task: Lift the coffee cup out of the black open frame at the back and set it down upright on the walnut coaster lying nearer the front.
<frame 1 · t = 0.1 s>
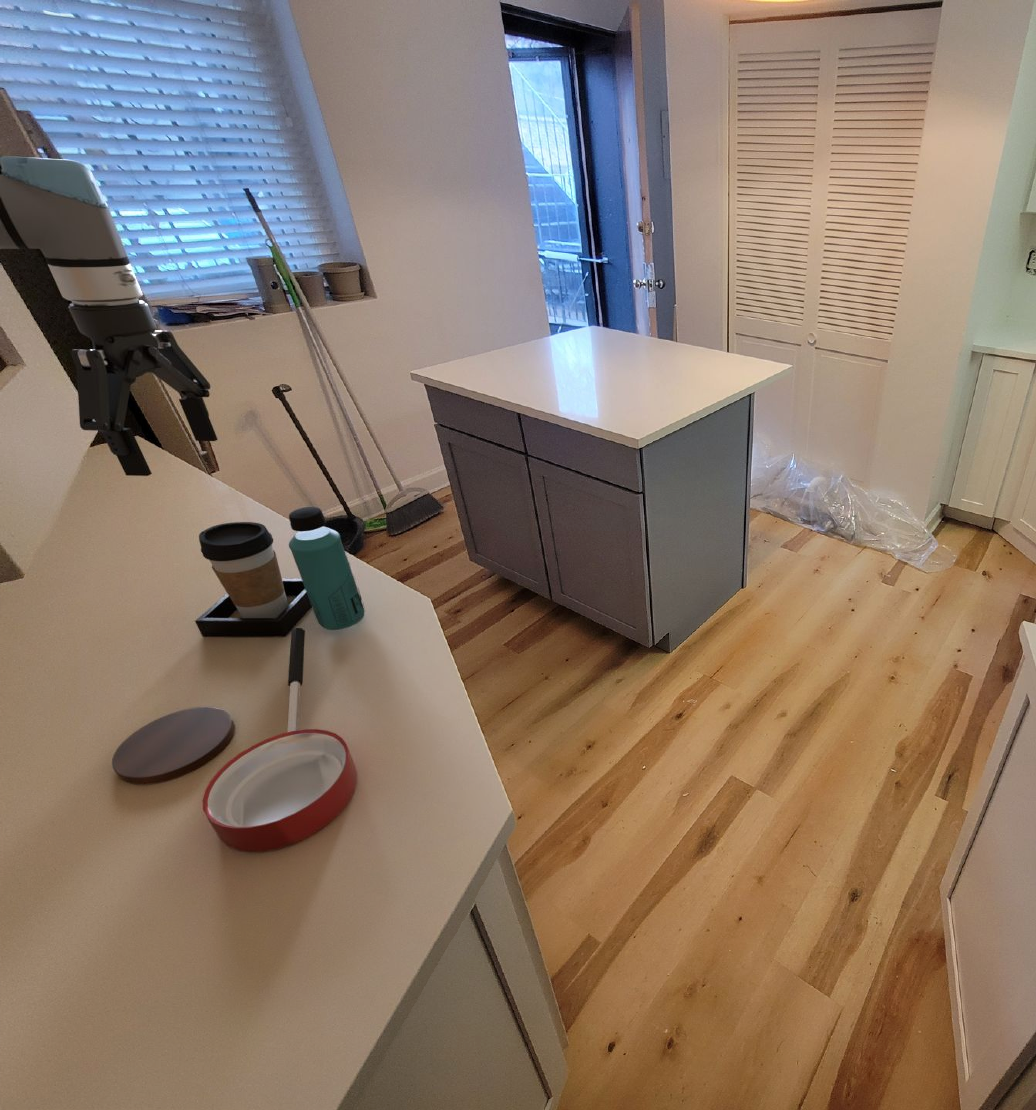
hand: (175, 456, 88), 24 cm above the counter, tool pointing down, fingers open, 13 cm apart
frying pan: (291, 744, 74), on the counter
walnut coaster: (178, 746, 73), on the counter
beverage bottle: (344, 626, 94), on the counter
black open frame: (267, 614, 96), on the counter
coffee cup: (267, 615, 96), resting in black open frame
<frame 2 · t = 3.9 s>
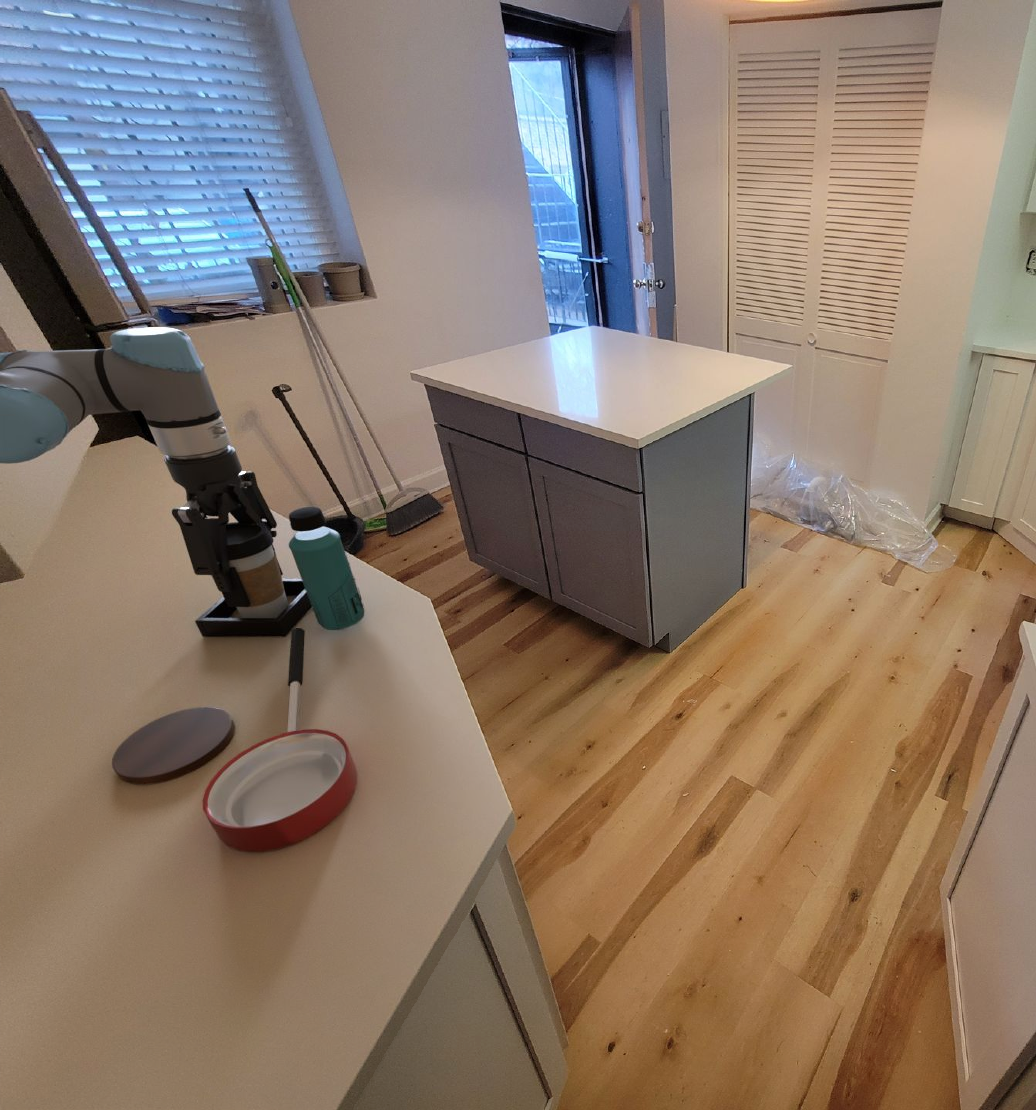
hand: (256, 589, 93), 5 cm above the counter, tool pointing down, fingers closed on coffee cup, 8 cm apart
coffee cup: (267, 615, 96), resting in black open frame, touching gripper
everything else where it was.
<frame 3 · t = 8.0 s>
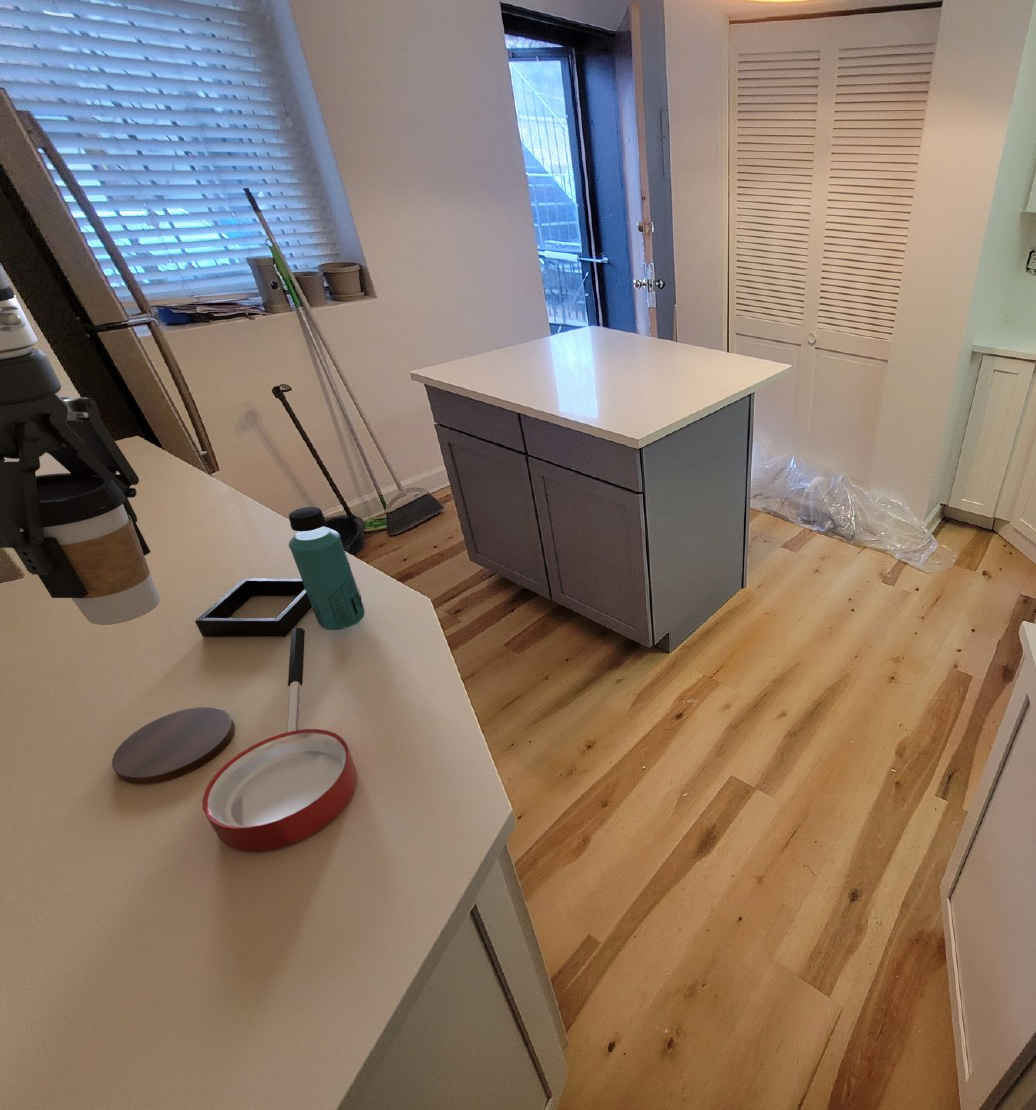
hand: (104, 573, 64), 23 cm above the counter, tool pointing down, fingers closed on coffee cup, 8 cm apart
coffee cup: (125, 610, 66), point 18 cm above the counter, touching gripper
everything else where it was.
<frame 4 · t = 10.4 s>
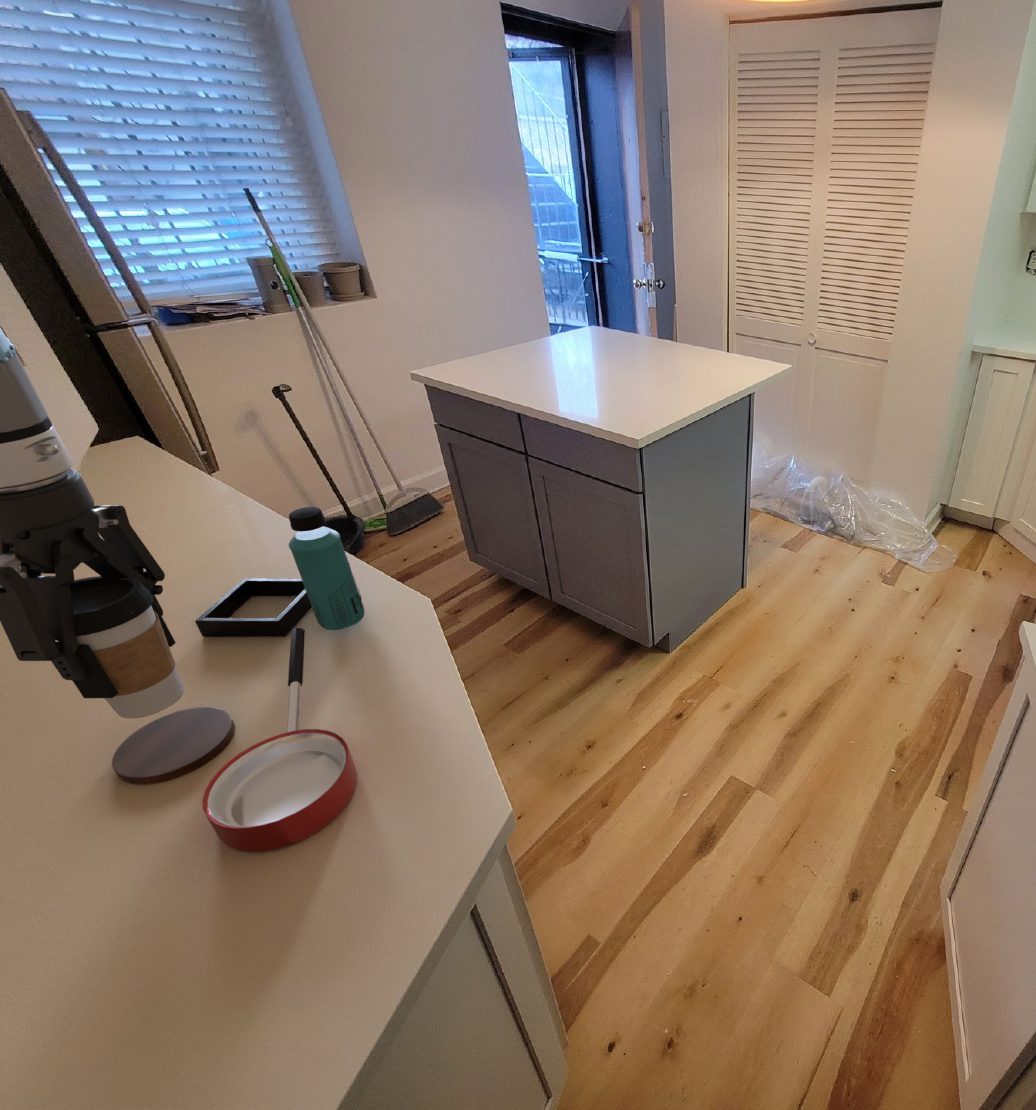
hand: (132, 668, 67), 12 cm above the counter, tool pointing down, fingers closed on coffee cup, 8 cm apart
coffee cup: (152, 701, 69), point 7 cm above the counter, touching gripper
everything else where it was.
when the fingers open (6 cm above the counter, at t = 12.4 s): coffee cup stays where it is, resting on walnut coaster.
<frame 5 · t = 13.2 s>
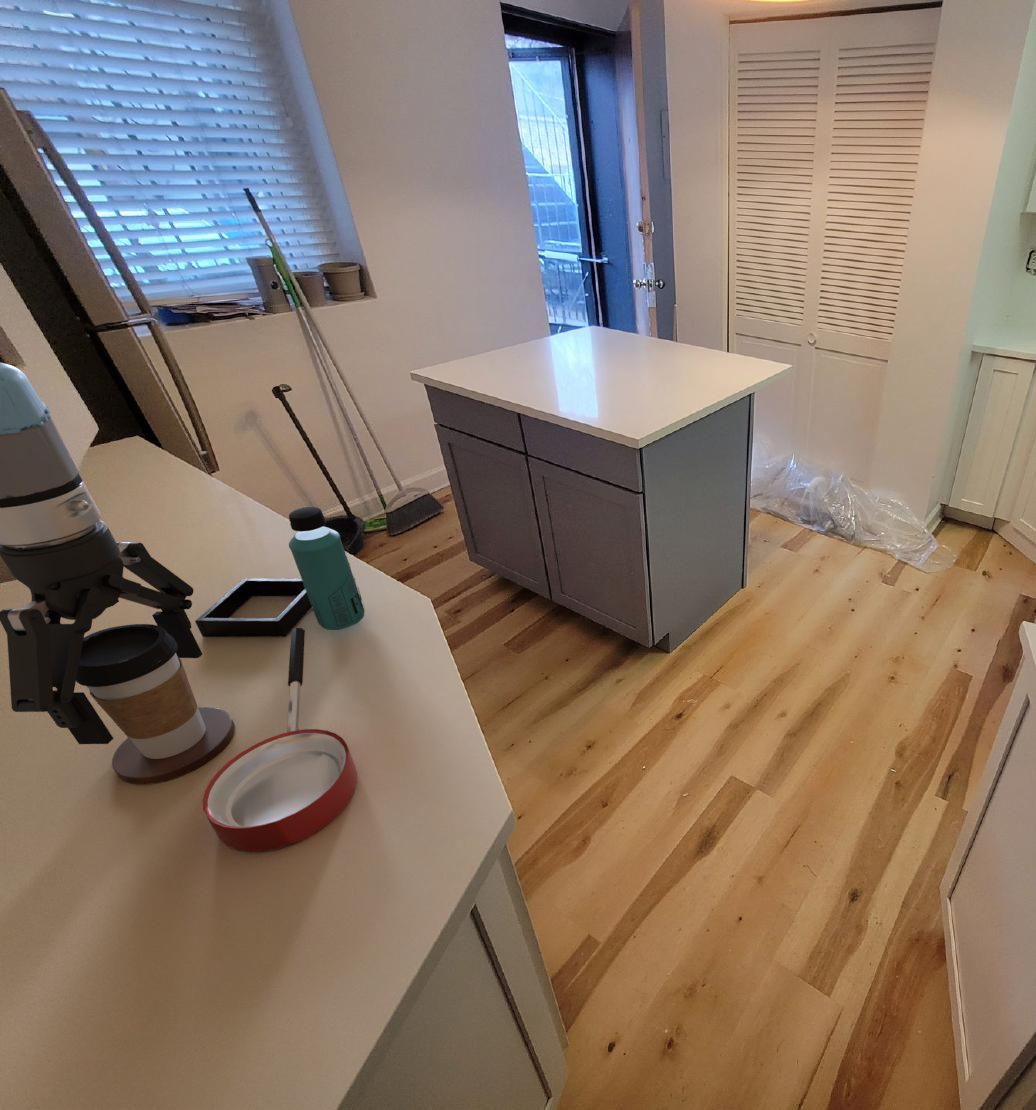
hand: (146, 695, 69), 8 cm above the counter, tool pointing down, fingers open, 13 cm apart
coffee cup: (175, 740, 72), point 1 cm above the counter, touching walnut coaster
everything else where it was.
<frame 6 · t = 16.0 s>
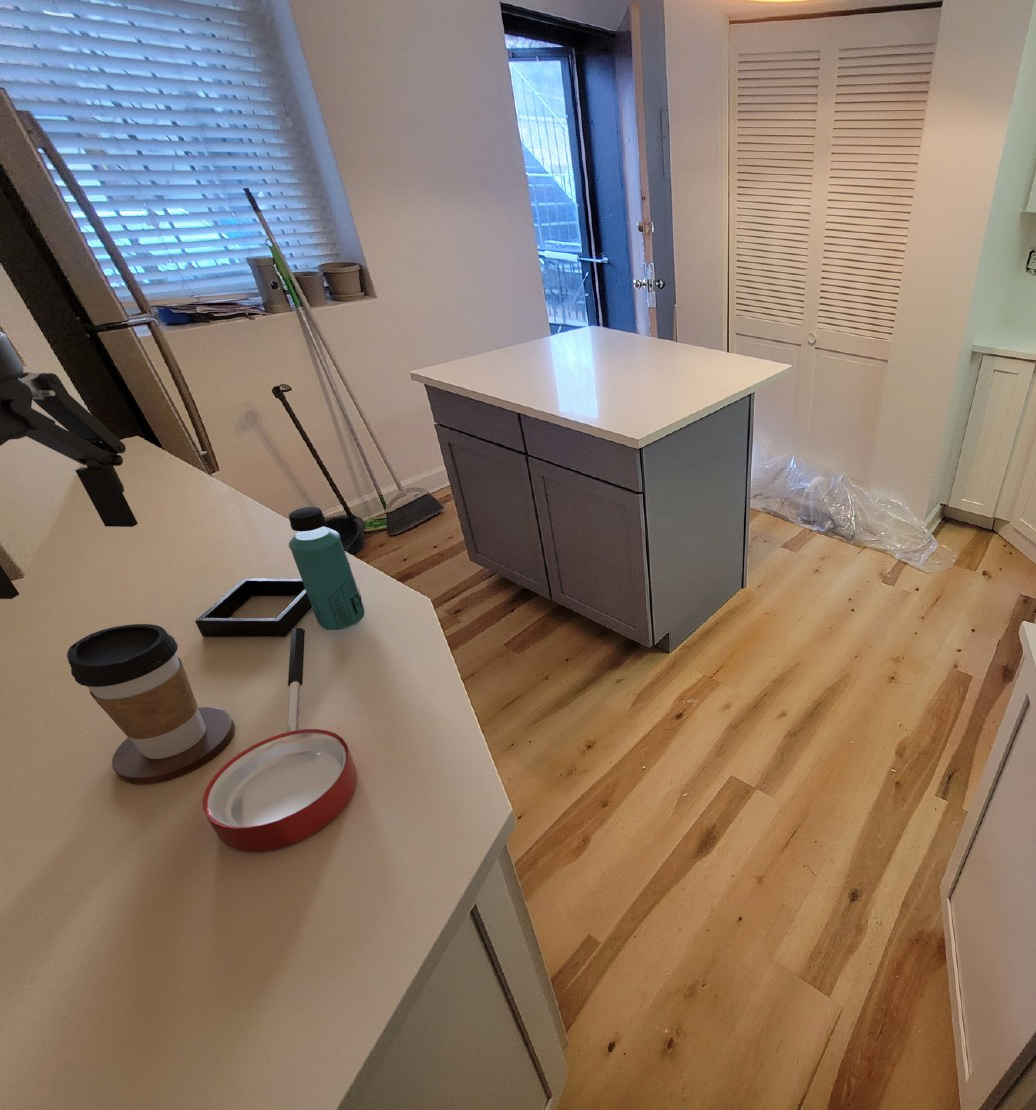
hand: (66, 557, 59), 27 cm above the counter, tool pointing down, fingers open, 13 cm apart
nothing on the counter moved.
at the end: coffee cup 0.1 cm off-centre on the walnut coaster, point 1.0 cm above the walnut coaster's base; coffee cup tilted 0°; coffee cup touching walnut coaster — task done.
